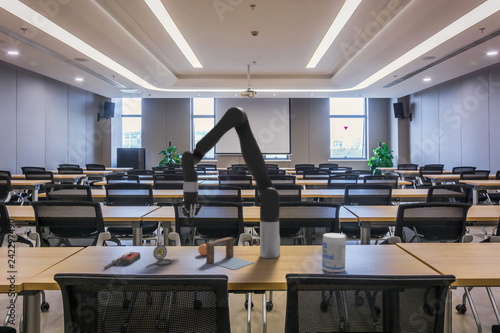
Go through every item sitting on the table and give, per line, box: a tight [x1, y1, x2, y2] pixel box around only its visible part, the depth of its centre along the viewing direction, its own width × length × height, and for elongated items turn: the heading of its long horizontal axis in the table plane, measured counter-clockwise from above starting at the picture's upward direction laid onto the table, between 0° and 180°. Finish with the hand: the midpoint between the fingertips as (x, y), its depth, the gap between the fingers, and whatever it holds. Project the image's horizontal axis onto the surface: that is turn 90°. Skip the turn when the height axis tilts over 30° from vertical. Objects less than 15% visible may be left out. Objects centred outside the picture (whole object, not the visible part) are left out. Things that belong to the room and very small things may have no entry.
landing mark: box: [213, 256, 254, 271], centre depth 152 cm, size 13×13×1 cm
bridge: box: [205, 236, 234, 265], centre depth 158 cm, size 3×14×9 cm, turn 139°
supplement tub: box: [321, 232, 347, 273], centre depth 144 cm, size 10×10×15 cm
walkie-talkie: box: [103, 251, 141, 270], centre depth 153 cm, size 9×4×20 cm
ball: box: [197, 243, 206, 257], centre depth 165 cm, size 6×6×6 cm
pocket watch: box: [152, 239, 173, 266], centre depth 154 cm, size 8×8×10 cm
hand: (190, 224), depth 172 cm, fingers closed
